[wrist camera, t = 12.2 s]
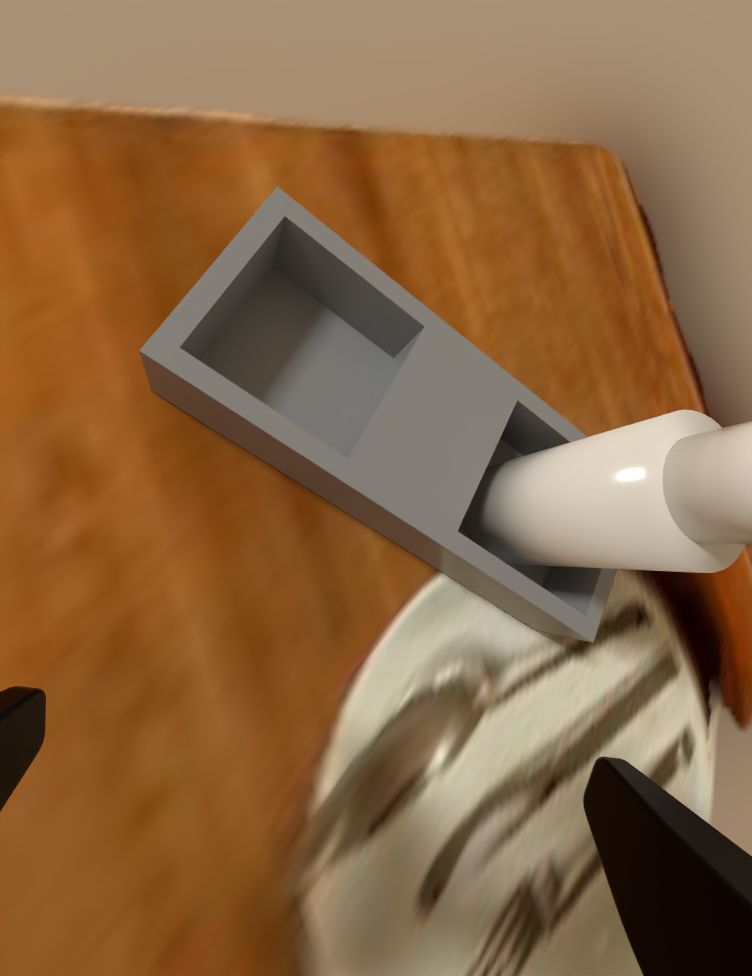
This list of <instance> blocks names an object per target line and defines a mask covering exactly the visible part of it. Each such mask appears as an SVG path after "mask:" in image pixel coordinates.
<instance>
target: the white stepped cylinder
mask: <svg viewBox="0 0 752 976" xmlns="http://www.w3.org/2000/svg"><path fill="white" fill-rule="evenodd" d="M463 524H464V527H465V531H466V533H467V535H468V538H469V539H470V540H471V541H473V542H474V543H476V544H477V545H479V546H481V547H482V548H484V549H485V550H487V551H488V552H490V553H491V554H493V555H494V556H496V557H497V558H499V559H500V560H502V561H503V562H505V563H506V564H520V565H542V566H565V567H587V568H610V569H632V570H655V571H677V572H700V573H713V572H718V571H721V570H724V569H725V568H727V567H729V566H730V565H731V564H732V563H733V562H734V561H735V560H736V559H737V558H738V557H739V555H740V554H741V552H742V550H743V549H744V547H745V544H752V421H751V422H747V423H742V424H738V425H734V426H730V427H726V428H722V427H721V426H720V425H719V424H718V423H716V422H715V421H714V420H713V419H711V418H710V417H708V416H706V415H704V414H702V413H700V412H697V411H693V410H680V411H675V412H672V413H669V414H665V415H662V416H658V417H655V418H652V419H648V420H645V421H641V422H638V423H635V424H631V425H628V426H624V427H621V428H618V429H614V430H611V431H607V432H604V433H600V434H597V435H594V436H590V437H587V438H583V439H580V440H577V441H573V442H570V443H566V444H563V445H560V446H556V447H553V448H549V449H546V450H543V451H539V452H536V453H532V454H529V455H526V456H522V457H519V458H515V459H512V460H508V461H505V462H502V463H498V464H495V465H491V466H488V467H487V468H486V470H485V472H484V474H483V476H482V479H481V481H480V483H479V485H478V487H477V490H476V492H475V494H474V496H473V498H472V500H471V503H470V505H469V507H468V509H467V511H466V514H465V516H464V518H463Z"/></svg>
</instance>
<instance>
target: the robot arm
mask: <svg viewBox="0 0 752 976" xmlns="http://www.w3.org/2000/svg"><path fill="white" fill-rule="evenodd" d="M45 715H46V695H45V693H44V691H43V690H41V689H38V688H30V687H22V686H14V687H11V688H8V689H6V690H3V691H1V692H0V811H1V810H2V808H3V807H4V805H5V803H6V802H7V800H8V799H9V797H10V796H11V794H12V793H13V791H14V789H15V788H16V786H17V785H18V783H19V782H20V780H21V778H22V777H23V775H24V774H25V772H26V771H27V769H28V768H29V766H30V764H31V763H32V761H33V760H34V758H35V757H36V755H37V753H38V752H39V750H40V748H41V746H42V743H43V740H44V736H45ZM583 802H584V810H585V814H586V817H587V820H588V823H589V826H590V829H591V832H592V835H593V838H594V841H595V844H596V847H597V850H598V853H599V856H600V859H601V862H602V865H603V868H604V871H605V874H606V877H607V880H608V883H609V886H610V889H611V892H612V895H613V898H614V902H615V905H616V907H617V910H618V913H619V916H620V919H621V921H622V924H623V927H624V929H625V932H626V934H627V937H628V939H629V942H630V945H631V947H632V950H633V952H634V954H635V957H636V959H637V962H638V964H639V966H640V969H641V971H642V974H643V976H752V856H750V855H749V854H748V853H746V852H745V851H743V849H741V848H740V847H739V846H737V845H736V844H734V843H733V842H732V841H731V840H729V839H728V838H727V837H725V836H724V835H723V834H721V833H720V832H719V831H718V830H716V829H715V828H714V827H712V826H711V825H710V824H708V823H707V822H706V821H704V820H703V819H702V818H700V817H699V816H698V815H696V814H695V813H694V812H693V811H691V810H690V809H689V808H687V807H686V806H685V805H683V804H682V803H681V802H679V801H678V800H677V799H675V798H674V797H673V796H671V795H670V794H669V793H668V792H666V791H665V790H664V789H662V788H661V787H660V786H658V785H657V784H656V783H654V782H653V781H652V780H650V779H649V778H648V777H646V776H645V775H644V774H643V773H641V772H640V771H639V770H637V769H636V768H635V767H633V766H632V765H631V764H629V763H628V762H627V761H625V760H623V759H619V758H610V757H599V758H598V759H597V760H596V761H595V763H594V766H593V769H592V772H591V775H590V778H589V781H588V784H587V787H586V790H585V793H584V799H583Z"/></svg>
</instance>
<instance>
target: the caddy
mask: <svg viewBox="0 0 752 976" xmlns="http://www.w3.org/2000/svg"><path fill="white" fill-rule="evenodd" d="M140 354H141V357H142V361H143V364H144V367H145V371H146V374H147V377H148V381H149V384H150V387H151V391H152V392H154V393H155V394H157V395H158V396H160V397H162V398H163V399H165V400H166V401H168V402H170V403H171V404H173V405H174V406H176V407H178V408H179V409H181V410H182V411H184V412H186V413H187V414H189V415H190V416H192V417H194V418H195V419H197V420H198V421H200V422H202V423H203V424H205V425H207V426H208V427H210V428H211V429H213V430H215V431H216V432H218V433H219V434H221V435H223V436H224V437H226V438H227V439H229V440H231V441H232V442H234V443H235V444H237V445H239V446H240V447H242V448H243V449H245V450H247V451H248V452H250V453H251V454H253V455H255V456H256V457H258V458H259V459H261V460H263V461H264V462H266V463H267V464H269V465H271V466H272V467H274V468H275V469H277V470H279V471H280V472H282V473H283V474H285V475H287V476H288V477H290V478H291V479H293V480H295V481H296V482H298V483H299V484H301V485H303V486H304V487H306V488H307V489H309V490H311V491H312V492H314V493H315V494H317V495H319V496H320V497H322V498H324V499H325V500H327V501H328V502H330V503H332V504H333V505H335V506H336V507H338V508H340V509H341V510H343V511H344V512H346V513H348V514H349V515H351V516H352V517H354V518H356V519H357V520H359V521H360V522H362V523H364V524H365V525H367V526H368V527H370V528H372V529H373V530H375V531H376V532H378V533H380V534H381V535H383V536H384V537H386V538H388V539H389V540H391V541H392V542H394V543H396V544H397V545H399V546H400V547H402V548H404V549H405V550H407V551H408V552H410V553H412V554H413V555H415V556H416V557H418V558H420V559H421V560H423V561H424V562H426V563H428V564H429V565H431V566H433V567H434V568H436V569H437V570H439V571H441V572H442V573H444V574H445V575H447V576H449V577H450V578H452V579H453V580H455V581H457V582H458V583H460V584H461V585H463V586H465V587H466V588H468V589H469V590H471V591H473V592H474V593H476V594H477V595H479V596H481V597H482V598H484V599H485V600H487V601H489V602H490V603H492V604H493V605H495V606H497V607H498V608H500V609H501V610H503V611H505V612H506V613H508V614H509V615H511V616H513V617H514V618H516V619H517V620H519V621H521V622H522V623H524V624H525V625H527V626H529V627H530V628H532V629H534V630H539V631H543V632H548V633H552V634H557V635H561V636H565V637H570V638H574V639H579V640H583V641H587V642H592V643H593V642H594V639H595V636H596V633H597V630H598V627H599V624H600V620H601V617H602V614H603V611H604V608H605V605H606V602H607V598H608V595H609V592H610V589H611V586H612V583H613V580H614V576H615V573H616V570H617V569H610V568H587V567H565V566H542V565H520V564H506V563H505V562H503V561H502V560H500V559H499V558H497V557H496V556H494V555H493V554H491V553H490V552H488V551H487V550H485V549H484V548H482V547H481V546H479V545H477V544H476V543H474V542H473V541H471V540H470V539H469V538H468V535H467V533H466V531H465V527H464V524H463V518H464V516H465V514H466V511H467V509H468V507H469V505H470V503H471V500H472V498H473V496H474V494H475V492H476V490H477V487H478V485H479V483H480V481H481V479H482V476H483V474H484V472H485V470H486V468H487V467H488V466H491V465H495V464H498V463H502V462H505V461H508V460H512V459H515V458H519V457H522V456H526V455H529V454H532V453H536V452H539V451H543V450H546V449H549V448H553V447H556V446H560V445H563V444H566V443H570V442H573V441H577V440H580V439H583V438H587V436H586V435H585V434H583V433H582V432H581V431H580V430H578V429H577V428H576V427H575V426H573V425H572V424H571V423H570V422H568V421H567V420H566V419H565V418H563V417H562V416H561V415H560V414H559V413H557V412H556V411H555V410H554V409H552V408H551V407H550V406H549V405H547V404H546V403H545V402H544V401H542V400H541V399H540V398H539V397H537V396H536V395H535V394H534V393H533V392H531V391H530V390H529V389H528V388H526V387H525V386H524V385H523V384H521V383H520V382H519V381H518V380H516V379H515V378H514V377H513V376H511V375H510V374H509V373H508V372H506V371H505V370H504V369H503V368H502V367H500V366H499V365H498V364H497V363H495V362H494V361H493V360H492V359H490V358H489V357H488V356H487V355H485V354H484V353H483V352H482V351H480V350H479V349H478V348H477V347H476V346H474V345H473V344H472V343H471V342H469V341H468V340H467V339H466V338H464V337H463V336H462V335H461V334H459V333H458V332H457V331H456V330H454V329H453V328H452V327H451V326H450V325H448V324H447V323H446V322H445V321H443V320H442V319H441V318H440V317H438V316H437V315H436V314H435V313H433V312H432V311H431V310H430V309H428V308H427V307H426V306H425V305H423V304H422V303H421V302H420V301H419V300H417V299H416V298H415V297H414V296H412V295H411V294H410V293H409V292H407V291H406V290H405V289H404V288H402V287H401V286H400V285H399V284H397V283H396V282H395V281H394V280H393V279H391V278H390V277H389V276H388V275H386V274H385V273H384V272H383V271H381V270H380V269H379V268H378V267H376V266H375V265H374V264H373V263H371V262H370V261H369V260H368V259H366V258H365V257H364V256H363V255H362V254H360V253H359V252H358V251H357V250H355V249H354V248H353V247H352V246H350V245H349V244H348V243H347V242H345V241H344V240H343V239H342V238H340V237H339V236H338V235H337V234H336V233H334V232H333V231H332V230H331V229H329V228H328V227H327V226H326V225H324V224H323V223H322V222H321V221H319V220H318V219H317V218H316V217H314V216H313V215H312V214H311V213H310V212H308V211H307V210H306V209H305V208H303V207H302V206H301V205H300V204H298V203H297V202H296V201H295V200H293V199H292V198H291V197H290V196H288V195H287V194H286V193H285V192H283V191H282V190H281V189H280V188H279V187H276V189H275V190H274V191H273V192H272V193H271V195H270V196H269V197H268V198H267V199H266V201H265V202H264V203H263V204H262V205H261V206H260V208H259V209H258V210H257V211H256V212H255V214H254V215H253V216H252V217H251V218H250V220H249V221H248V222H247V223H246V224H245V226H244V227H243V228H242V229H241V230H240V232H239V233H238V234H237V235H236V236H235V237H234V239H233V240H232V241H231V242H230V243H229V245H228V246H227V247H226V248H225V249H224V251H223V252H222V253H221V254H220V255H219V257H218V258H217V259H216V260H215V261H214V263H213V264H212V265H211V266H210V267H209V269H208V270H207V271H206V272H205V273H204V274H203V276H202V277H201V278H200V279H199V280H198V282H197V283H196V284H195V285H194V286H193V288H192V289H191V290H190V291H189V292H188V294H187V295H186V296H185V297H184V298H183V300H182V301H181V302H180V303H179V304H178V306H177V307H176V308H175V309H174V310H173V311H172V313H171V314H170V315H169V316H168V317H167V319H166V320H165V321H164V322H163V323H162V325H161V326H160V327H159V328H158V329H157V331H156V332H155V333H154V334H153V335H152V337H151V338H150V339H149V340H148V341H147V342H146V344H145V345H144V346H143V347H142V348H141V350H140Z"/></svg>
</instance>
